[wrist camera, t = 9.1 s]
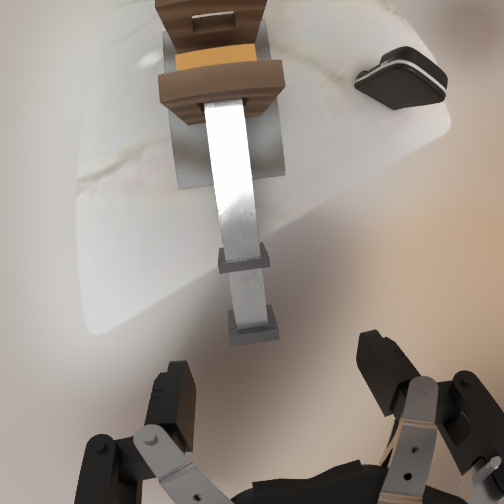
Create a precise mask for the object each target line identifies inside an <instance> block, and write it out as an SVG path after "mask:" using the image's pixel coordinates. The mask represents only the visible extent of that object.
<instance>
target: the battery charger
mask: <svg viewBox="0 0 504 504" xmlns="http://www.w3.org/2000/svg"><path fill="white" fill-rule="evenodd" d="M447 82H448V78H447V76H446V74H445V73H444V72H443V71H442V70H441V69H440V68H439V67H438V66H437V65H435V64H434V63H433V62H432V61H431V60H429V59H428V58H427V57H425V56H424V55H423V54H421V53H420V52H418V51H417V50H415V49H414V48H411V47H408V46H404V47H399V48H397V49H394V50H392V51H390V52H388V53H386V54H384V55H383V56H382V58H381V60H380V64H379V65H377V66H376V67H374V68H372V69H371V70H369V71H362V72H361V73H360V74H359V75H358V77H357V80H356V81H355V87H356V88H357V89H359V90H360V91H362V92H364V93H366V94H368V95H369V96H371V97H373V98H375V99H376V100H378V101H380V102H381V103H383V104H385V105H386V106H388V107H390V108H391V109H393V110H397V109H401V108H407V107H415V106H423V105H429V104H435V103H440V102H442V101H444V99H445V97H446V95H447V91H446V90H447Z"/></svg>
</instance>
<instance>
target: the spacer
mask: <svg viewBox="0 0 504 504" xmlns="http://www.w3.org/2000/svg"><path fill="white" fill-rule="evenodd" d="M175 59H176V69H177V71H179V70H185V69H190V68H196V67H202V66H209V65H217V64H225V63H234V62H245V61H257V57H256V51H255V45H254V44H243V45H233V46H224V47H217V48H210V49H204V50H198V51H192V52H187V53H182V54H177V55H175Z"/></svg>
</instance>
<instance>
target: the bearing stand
mask: <svg viewBox="0 0 504 504" xmlns="http://www.w3.org/2000/svg"><path fill="white" fill-rule="evenodd" d="M266 3H267V0H155V8H156V10H157V12H158V14H159V16H160V18H161V20H162V23H163V25H164V27H165V29H166V31H163V51H164V67H165V74H161V75H158V84H159V95H160V103H162V104H163V105H164V106H165V107H167V108H168V111H169V121H170V129H171V138H172V146H173V153H174V160H175V168H176V174H177V181H178V188H179V189H184V188H190V187H197V186H203V185H210V184H214V179H213V171H212V164H211V156H210V148H209V140H208V132H207V124H206V116H205V107H204V102H210V101H217V100H225V99H233V98H242V102H243V110H244V118H245V126H246V134H247V143H248V151H249V159H250V168H251V176H252V179H254V178H263V177H272V176H282V175H285V166H284V156H283V147H282V138H281V130H280V121H279V113H278V106H277V98H276V97H277V96H278V94H279V93H280V92H281V91H282V90H283V89H284V87H285V81H284V74H283V67H282V61H281V60H271V56H270V50H269V44H268V37H267V31H266V26H265V20H264V19H262V16H263V13H264V10H265V6H266ZM226 11H234V14H223V15H214V16H206V17H199V18H193V19H192V16H195V15H201V14H208V13H217V12H226ZM243 44H254V45H255V51H256V57H257V61H245V62H234V63H225V64H217V65H209V66H202V67H196V68H190V69H185V70H179V71H177V69H176V59H175V55H177V54H182V53H187V52H192V51H198V50H204V49H210V48H217V47H224V46H233V45H243Z"/></svg>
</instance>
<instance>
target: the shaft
mask: <svg viewBox="0 0 504 504" xmlns="http://www.w3.org/2000/svg"><path fill="white" fill-rule="evenodd" d="M204 107H205V116H206V124H207V132H208V140H209V148H210V156H211V164H212V171H213V179H214V186H215V193H216V200H217V207H218V214H219V221H220V227H221V234H222V241H223V247H224V248H219V257H218V268H219V273H220V274H221V273H228V278H229V284H230V290H231V296H232V302H233V308H234V310H229V311H228V330H229V340H230V345H231V346H237V345H245V344H252V343H259V342H266V341H272V340H278V339H279V330H278V326H277V322H276V319H275V316H274V312H273V309H272V306H271V305H266V300H265V291H264V282H263V273H262V268H265V267H270V261H269V256H268V253H267V251H266V249H265V247H264V244H263V242H261V243H259V237H258V228H257V219H256V211H255V202H254V193H253V185H252V176H251V168H250V159H249V151H248V143H247V134H246V126H245V118H244V110H243V102H242V98H233V99H225V100H217V101H210V102H204Z"/></svg>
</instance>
